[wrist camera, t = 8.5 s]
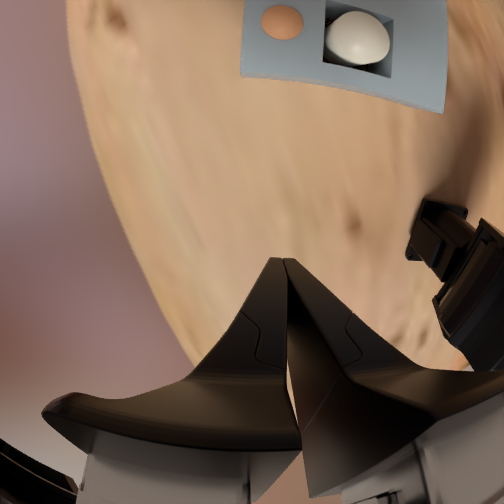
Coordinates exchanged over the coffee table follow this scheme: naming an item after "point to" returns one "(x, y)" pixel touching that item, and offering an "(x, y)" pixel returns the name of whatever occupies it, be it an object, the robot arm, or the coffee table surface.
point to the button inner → (355, 40)
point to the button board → (371, 83)
